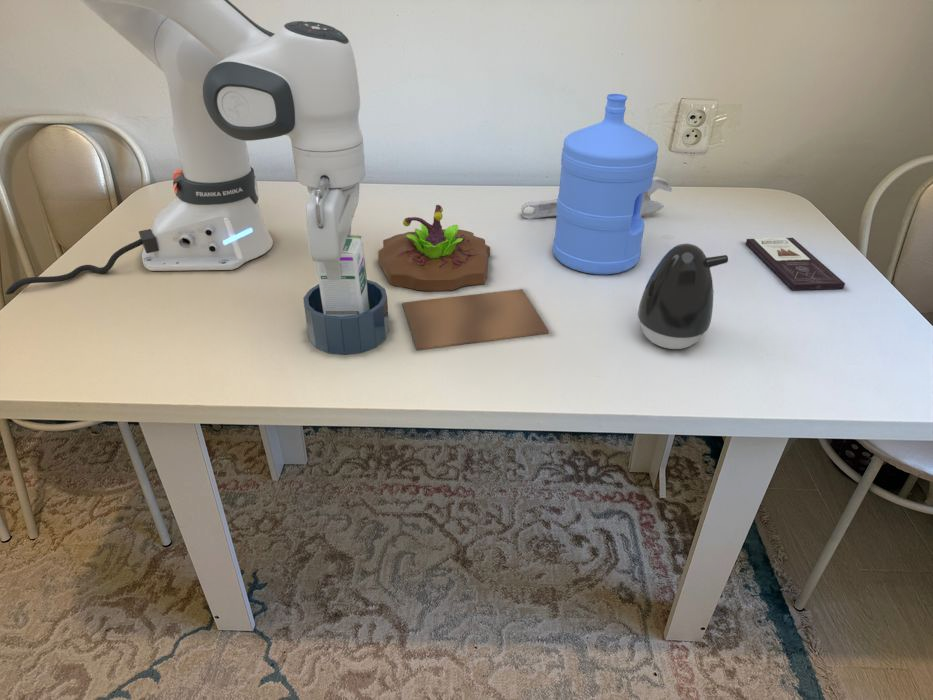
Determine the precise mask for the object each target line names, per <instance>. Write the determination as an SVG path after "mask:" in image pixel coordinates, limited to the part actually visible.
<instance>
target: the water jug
mask: <svg viewBox="0 0 933 700" xmlns="http://www.w3.org/2000/svg"><path fill="white" fill-rule="evenodd" d="M627 100H628V96H627V95H626V94H621V93H609V94H607V95H606V104H605V107H604V111H605V112H604V118H603V119H602V121H600V122H597V123H594V124H592V125H589V126H586V127H583V128H580V129H578V130H575V131H572V132H570V133H569V134H567V135H566V137H565V138H564V139H563V145H562V149H561V158H560V165H561V167H560V177H559V187H558V195H557V198H556V199H557V215H556V218H555V231H554V238H553V242H552V252H553V255H554V257H555V258H556V259H557V261H558V262H559V263H561V264H562V265H564V266H566V267H567V268H570V269H572V270H575V271H578V272H581V273H586V274H591V275H613V274H619V273H623V272H626V271H629V270H631V269H632V268H634V267H635V266H636V265H637V264H638V263H639V260H640V258H641V253H642V242H643V238H644V237H643V236H644V232H645V225H646V224H645V220H644V219H643V217H642V216H641V215H640V212H641V206H642V200H643V194H644V192H646V191H647V190H649V189H650V188H651V186H652V181H653V177H654V175H655V172H656V169H657V163H658V151H659V145H658V143H657V142H656V140H655V139H653V138H652V137H651V136H649V135H647V134H645V133H643V132H641V131H640V130H638V129H636V128H634V127H632V126H630V125H629V124H627V123H626V122H625V120H624V119H625V112H626V101H627Z"/></svg>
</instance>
